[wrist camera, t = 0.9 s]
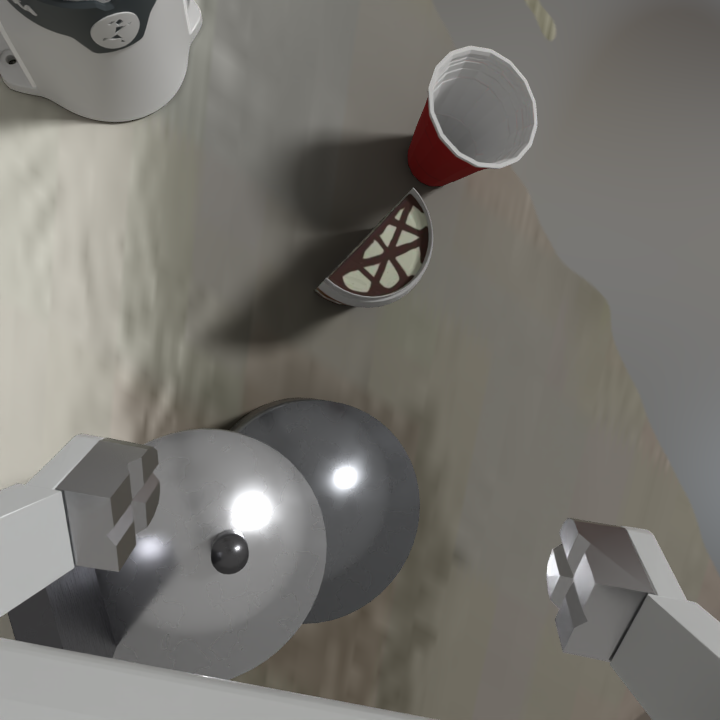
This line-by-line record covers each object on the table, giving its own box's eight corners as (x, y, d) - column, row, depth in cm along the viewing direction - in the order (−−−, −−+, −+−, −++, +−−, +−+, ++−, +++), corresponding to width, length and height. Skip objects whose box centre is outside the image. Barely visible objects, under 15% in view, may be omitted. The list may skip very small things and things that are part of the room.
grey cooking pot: (183, 427, 51) (174, 437, 41) (359, 377, 55) (388, 375, 45) (233, 607, 51) (236, 659, 41) (404, 542, 55) (443, 576, 46)
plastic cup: (490, 201, 60) (555, 157, 48) (400, 218, 57) (445, 176, 45) (466, 104, 59) (526, 36, 48) (375, 117, 57) (414, 48, 45)
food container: (348, 343, 55) (375, 334, 45) (303, 301, 54) (321, 282, 44) (424, 259, 57) (466, 234, 48) (383, 217, 56) (417, 183, 47)
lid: (37, 471, 38) (-29, 502, 28) (288, 399, 43) (309, 404, 33) (108, 718, 39) (68, 836, 29) (349, 621, 43) (388, 692, 33)
